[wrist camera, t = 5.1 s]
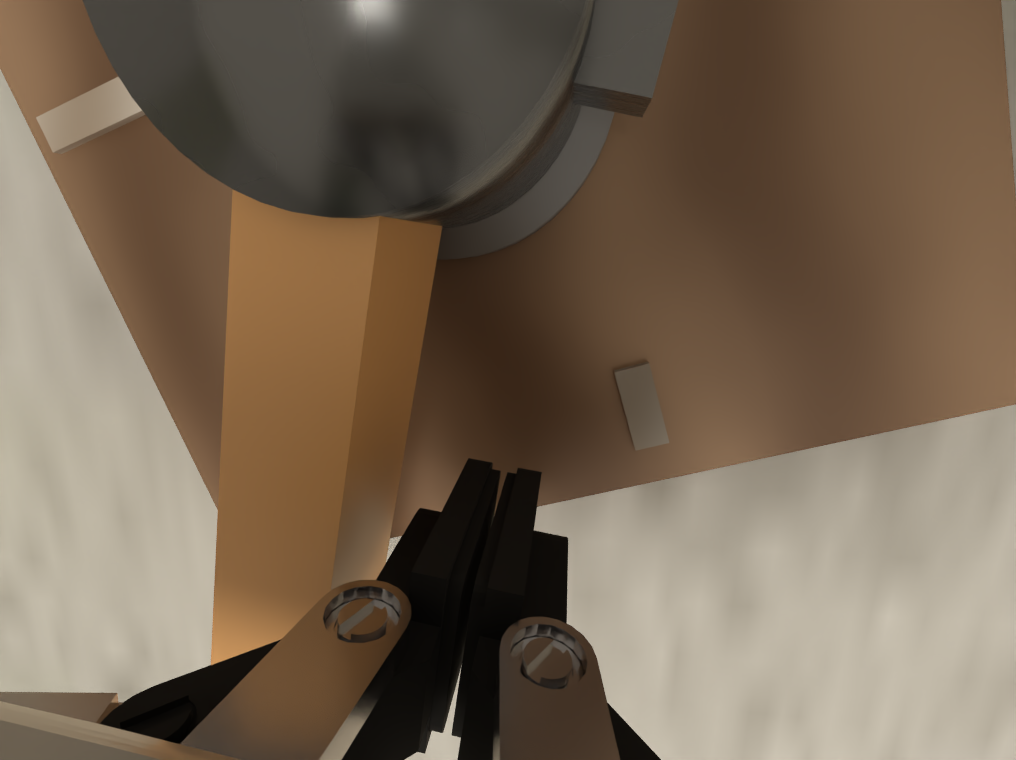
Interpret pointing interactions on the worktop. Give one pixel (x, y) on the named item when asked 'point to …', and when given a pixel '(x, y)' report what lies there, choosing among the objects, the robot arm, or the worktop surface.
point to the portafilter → (351, 231)
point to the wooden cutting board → (629, 250)
